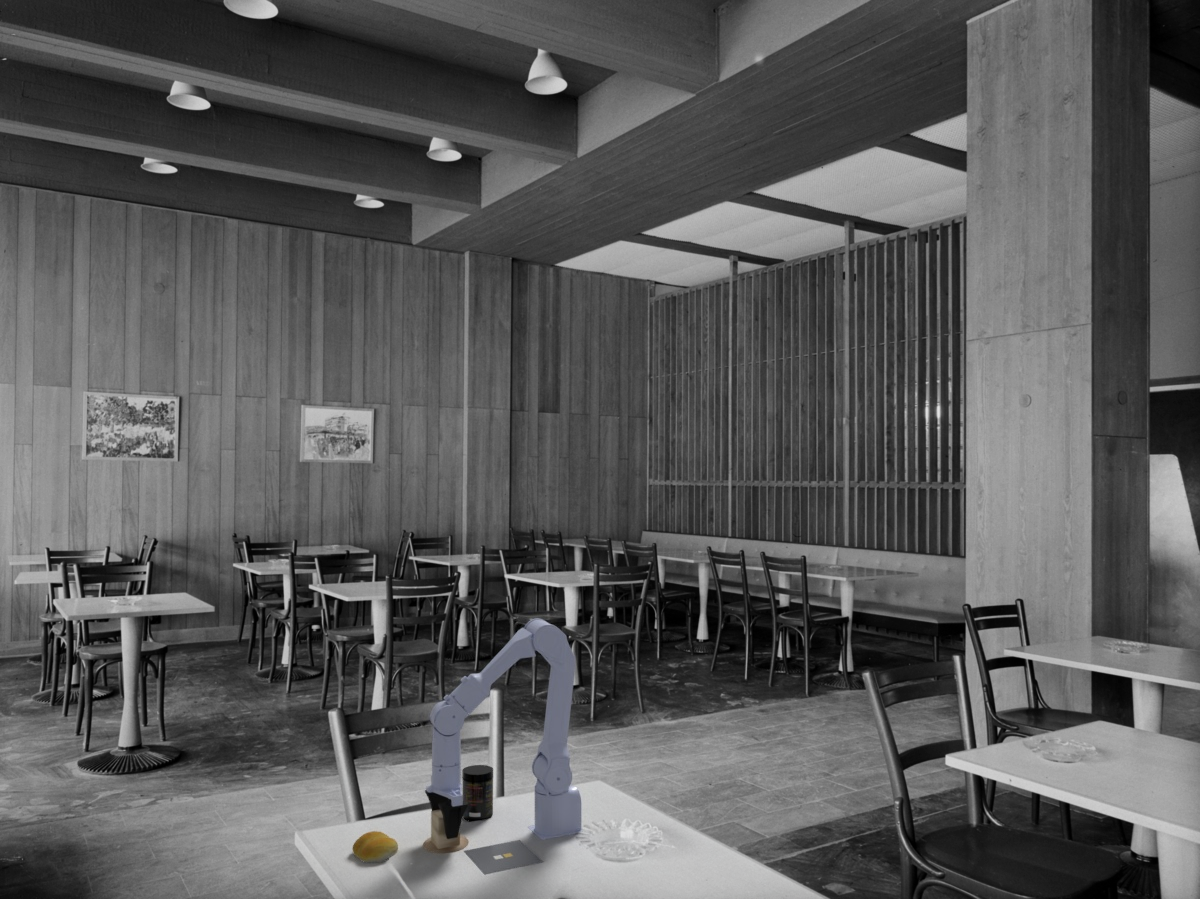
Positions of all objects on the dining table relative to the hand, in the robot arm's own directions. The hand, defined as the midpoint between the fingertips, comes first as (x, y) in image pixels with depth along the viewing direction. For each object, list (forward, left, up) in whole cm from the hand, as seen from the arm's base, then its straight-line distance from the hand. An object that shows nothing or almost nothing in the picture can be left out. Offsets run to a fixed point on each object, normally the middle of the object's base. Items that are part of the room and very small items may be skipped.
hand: (446, 831), depth 184 cm
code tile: (-8, +11, -3) cm, 14 cm away
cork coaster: (0, 0, -3) cm, 3 cm away
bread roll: (+14, -3, -4) cm, 14 cm away
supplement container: (-11, -12, -3) cm, 17 cm away
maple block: (0, 0, -2) cm, 2 cm away
